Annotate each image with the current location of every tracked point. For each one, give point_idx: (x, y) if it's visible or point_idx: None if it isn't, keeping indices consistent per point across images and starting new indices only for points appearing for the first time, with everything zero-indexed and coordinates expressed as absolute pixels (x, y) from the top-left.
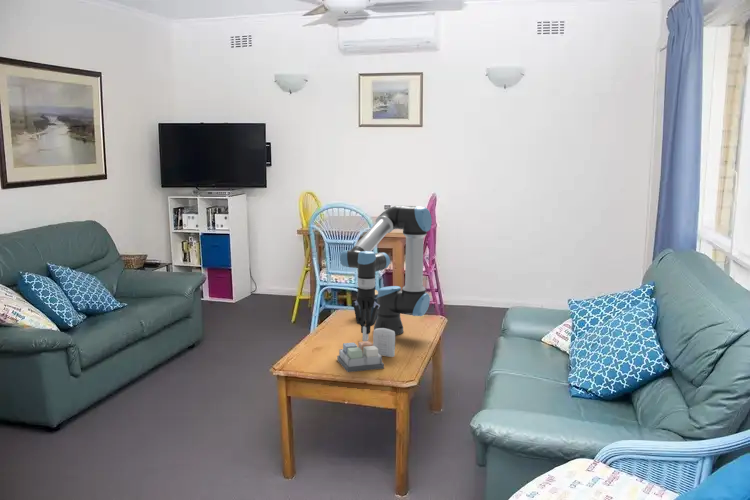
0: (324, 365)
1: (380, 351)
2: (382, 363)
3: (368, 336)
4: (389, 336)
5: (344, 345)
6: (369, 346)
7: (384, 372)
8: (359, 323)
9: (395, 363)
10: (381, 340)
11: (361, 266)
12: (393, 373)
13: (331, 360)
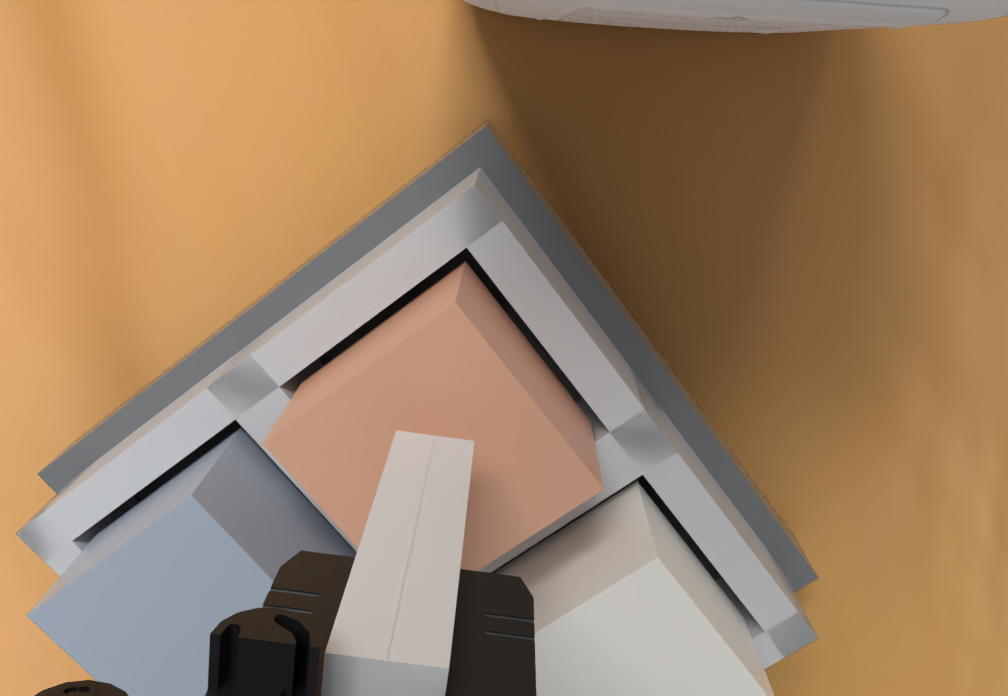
0: (34, 667)
1: (621, 24)
2: (793, 570)
3: (469, 482)
4: (936, 23)
5: (105, 678)
6: (578, 626)
7: (832, 661)
8: None
9: (924, 295)
10: (674, 19)
11: None
12: (950, 658)
13: (5, 477)
